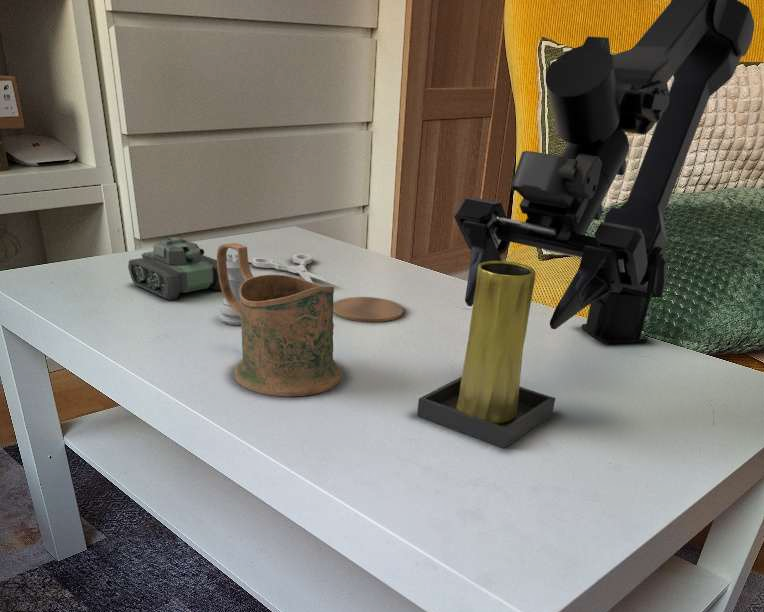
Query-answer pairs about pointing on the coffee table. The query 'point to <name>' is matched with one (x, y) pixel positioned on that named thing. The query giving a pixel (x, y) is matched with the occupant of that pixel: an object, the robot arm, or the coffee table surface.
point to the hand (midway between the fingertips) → (508, 314)
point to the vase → (496, 341)
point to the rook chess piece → (235, 282)
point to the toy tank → (174, 269)
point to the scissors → (300, 269)
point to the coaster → (367, 309)
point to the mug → (282, 331)
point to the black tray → (444, 412)
